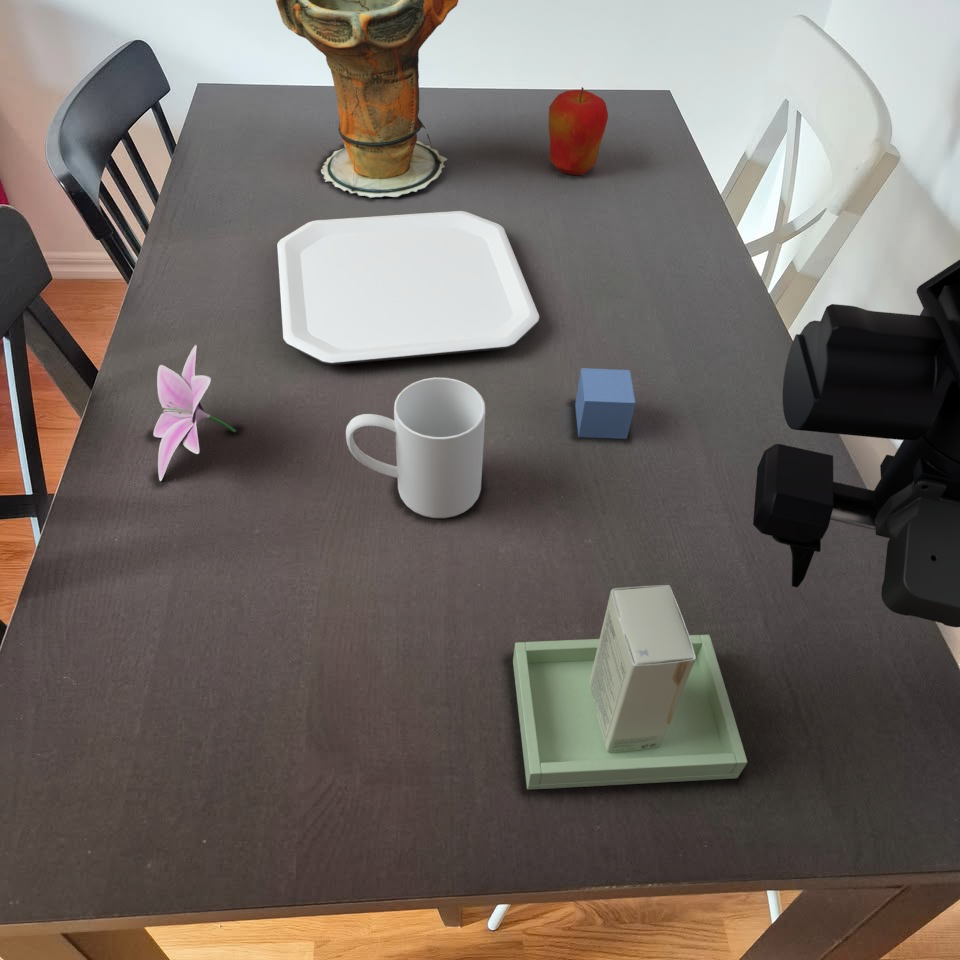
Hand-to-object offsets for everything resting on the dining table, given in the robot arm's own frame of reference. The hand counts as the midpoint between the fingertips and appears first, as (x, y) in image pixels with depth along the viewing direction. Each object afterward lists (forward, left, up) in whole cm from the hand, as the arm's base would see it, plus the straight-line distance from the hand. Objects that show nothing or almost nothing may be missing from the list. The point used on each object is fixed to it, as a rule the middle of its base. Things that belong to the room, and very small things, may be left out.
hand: (863, 598), depth 57 cm
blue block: (+21, -26, -13) cm, 36 cm away
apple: (+35, -79, -13) cm, 87 cm away
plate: (+48, -41, -13) cm, 64 cm away
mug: (+36, -11, -13) cm, 40 cm away
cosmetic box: (+13, +6, -12) cm, 19 cm away
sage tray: (+14, +6, -13) cm, 20 cm away
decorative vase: (+62, -69, -13) cm, 94 cm away
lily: (+59, -10, -13) cm, 61 cm away
